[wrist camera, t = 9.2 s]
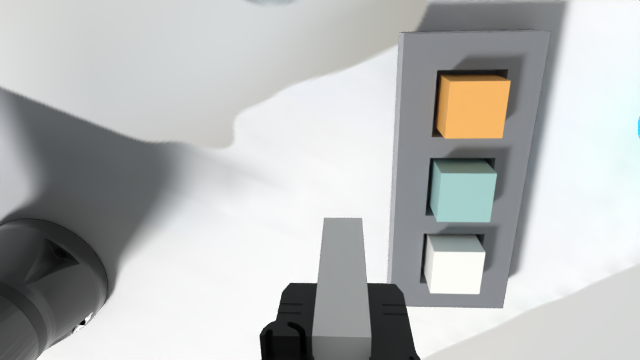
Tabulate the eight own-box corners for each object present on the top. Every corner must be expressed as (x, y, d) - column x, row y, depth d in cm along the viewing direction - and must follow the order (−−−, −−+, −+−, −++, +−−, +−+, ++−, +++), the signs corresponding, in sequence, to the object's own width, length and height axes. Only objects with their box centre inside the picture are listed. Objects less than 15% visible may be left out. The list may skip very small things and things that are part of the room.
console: (386, 286, 49) (389, 305, 46) (399, 32, 39) (404, 34, 35) (492, 288, 48) (502, 308, 45) (533, 29, 38) (551, 31, 35)
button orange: (435, 126, 40) (444, 138, 36) (439, 74, 38) (450, 81, 34) (487, 126, 39) (502, 138, 36) (494, 74, 38) (510, 80, 34)
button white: (423, 270, 46) (430, 293, 42) (426, 231, 44) (434, 251, 40) (468, 271, 45) (479, 294, 42) (473, 231, 44) (485, 252, 40)
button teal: (428, 203, 43) (436, 221, 39) (432, 158, 41) (441, 173, 37) (477, 203, 42) (489, 222, 39) (483, 158, 41) (497, 173, 37)
